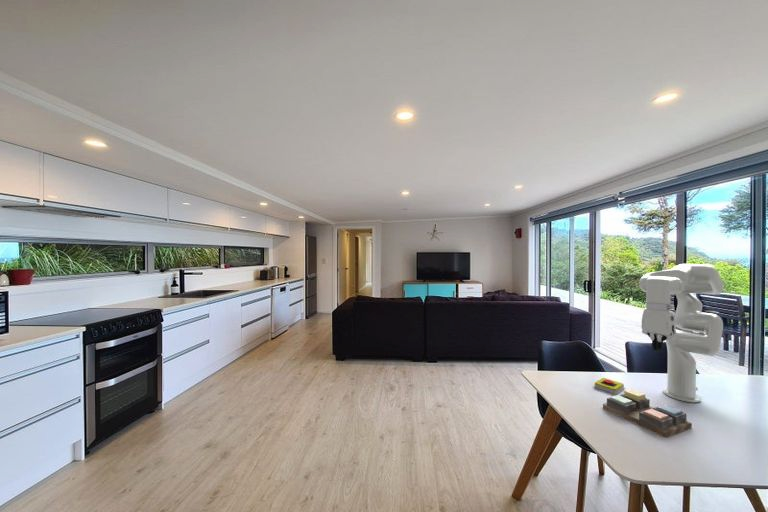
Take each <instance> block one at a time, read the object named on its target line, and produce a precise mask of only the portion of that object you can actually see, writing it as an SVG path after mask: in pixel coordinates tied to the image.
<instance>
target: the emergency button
mask: <svg viewBox="0 0 768 512" xmlns="http://www.w3.org/2000/svg"><path fill="white" fill-rule="evenodd" d="M593 386H594V387H593V390H594V391H598V392H601V393H605V394H607V395H611V396H613V397H614V396H618V395H619V394H620V393H621V392H623V391H625V390H626V387H625V385H624V383H622V382H619V381H616V380H612V379H609V378H606V377H602V378H600V379H599V380H596V381H595V382H594V385H593Z"/></svg>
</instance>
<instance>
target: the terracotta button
mask: <svg viewBox="0 0 768 512" xmlns="http://www.w3.org/2000/svg"><path fill="white" fill-rule="evenodd" d="M644 414H646V415H649V416H651V417H653V418H656V419H658V420H660V421H662V420H665V419H668V415H666V414H664V413H661V412H659V411H656V410H654V409H649V410H646V411H644Z"/></svg>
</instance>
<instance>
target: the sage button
mask: <svg viewBox="0 0 768 512" xmlns="http://www.w3.org/2000/svg"><path fill="white" fill-rule="evenodd" d="M611 400H613V401H616V402H618V403H620V404H623V405H628V404H631V403H632V400H629V399H627V398H624V397H622V396H620V395H619V394H617V395H615V396H614V395H613V396H611Z"/></svg>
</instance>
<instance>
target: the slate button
mask: <svg viewBox="0 0 768 512" xmlns="http://www.w3.org/2000/svg"><path fill="white" fill-rule="evenodd" d="M657 407H658V406H657ZM658 409H659V410H661V411H663V412H666V413H668V414H671V415H673V416H677V415H680V414H682V412H683V411H682V410H680V409H677V408H675V407H672V406H670V405H667V404H662V406H661V405H659V407H658Z"/></svg>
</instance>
